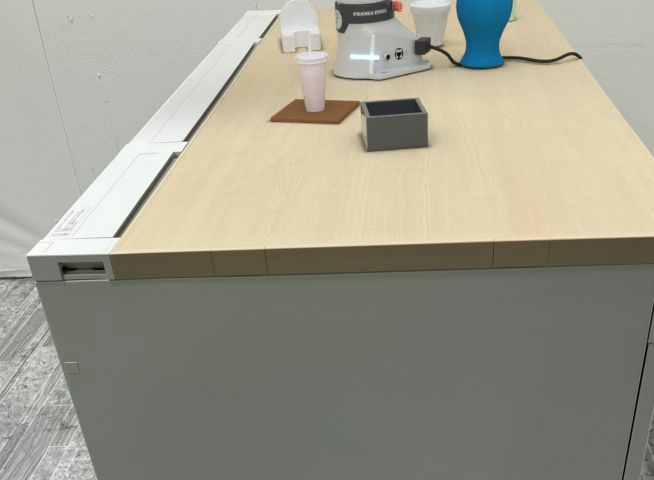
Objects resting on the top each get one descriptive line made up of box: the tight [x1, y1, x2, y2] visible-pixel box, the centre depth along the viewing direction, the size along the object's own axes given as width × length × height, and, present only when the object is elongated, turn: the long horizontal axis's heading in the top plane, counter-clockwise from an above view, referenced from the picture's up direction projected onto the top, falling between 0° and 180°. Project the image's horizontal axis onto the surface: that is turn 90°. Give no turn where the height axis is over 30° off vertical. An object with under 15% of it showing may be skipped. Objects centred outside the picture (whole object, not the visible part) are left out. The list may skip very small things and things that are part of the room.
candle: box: [508, 0, 517, 22], centre depth 224 cm, size 5×5×8 cm
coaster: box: [270, 98, 361, 125], centre depth 164 cm, size 14×14×1 cm
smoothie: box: [294, 30, 329, 112], centre depth 159 cm, size 6×6×14 cm
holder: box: [359, 96, 429, 152], centre depth 146 cm, size 11×11×6 cm
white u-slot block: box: [279, 0, 322, 53], centre depth 212 cm, size 10×18×10 cm, turn 6°
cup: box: [409, 0, 452, 48], centre depth 203 cm, size 10×10×9 cm
